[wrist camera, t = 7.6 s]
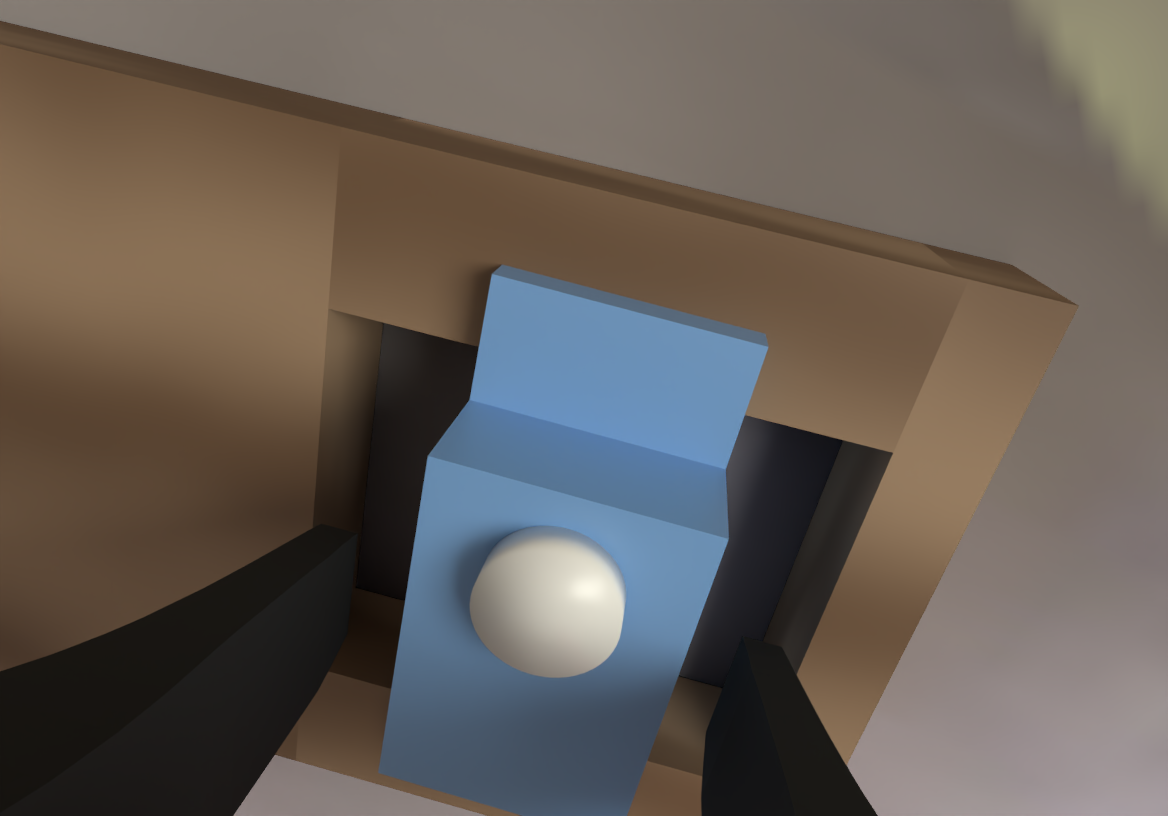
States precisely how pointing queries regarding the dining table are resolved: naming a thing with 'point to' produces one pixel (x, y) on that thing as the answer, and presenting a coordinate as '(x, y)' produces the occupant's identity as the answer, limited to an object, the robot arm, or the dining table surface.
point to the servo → (565, 547)
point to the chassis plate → (445, 309)
